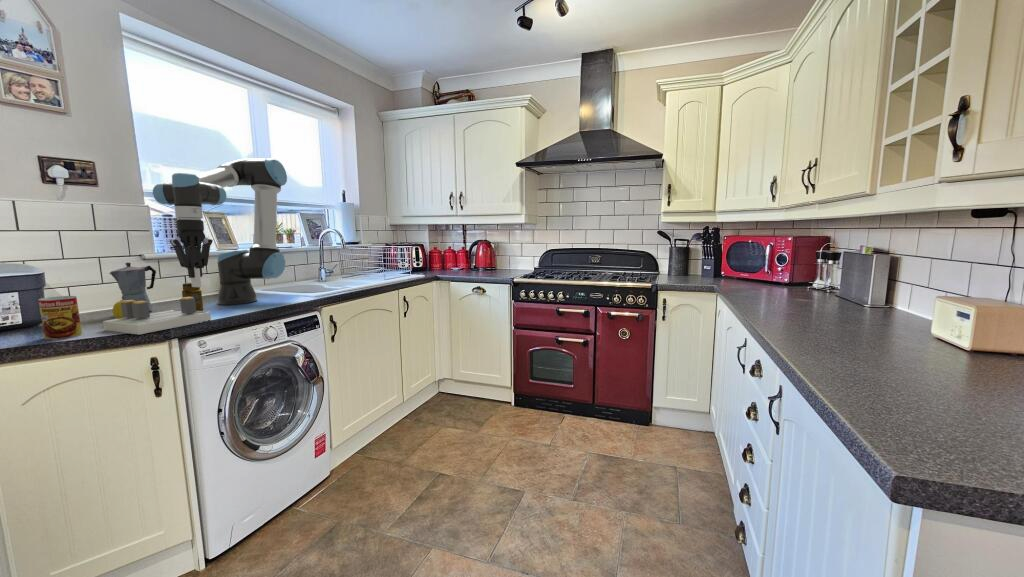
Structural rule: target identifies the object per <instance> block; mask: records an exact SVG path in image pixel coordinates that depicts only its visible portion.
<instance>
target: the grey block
mask: <svg viewBox="0 0 1024 577" xmlns="http://www.w3.org/2000/svg"><path fill="white" fill-rule="evenodd" d="M179 302H180V303H179V305H180V309H181V312H182V314H190V313H196V303H195V298H193V297H181V298H180V299H179Z"/></svg>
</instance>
